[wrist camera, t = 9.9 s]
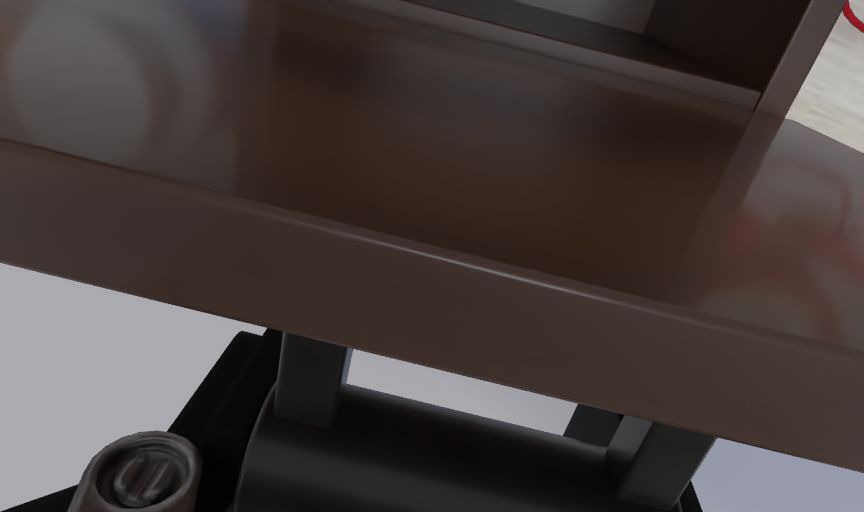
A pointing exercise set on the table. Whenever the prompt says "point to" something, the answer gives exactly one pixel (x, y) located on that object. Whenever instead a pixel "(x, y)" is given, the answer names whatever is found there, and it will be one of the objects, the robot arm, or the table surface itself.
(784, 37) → the chest
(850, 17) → the alarm clock
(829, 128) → the table surface
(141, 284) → the lid
